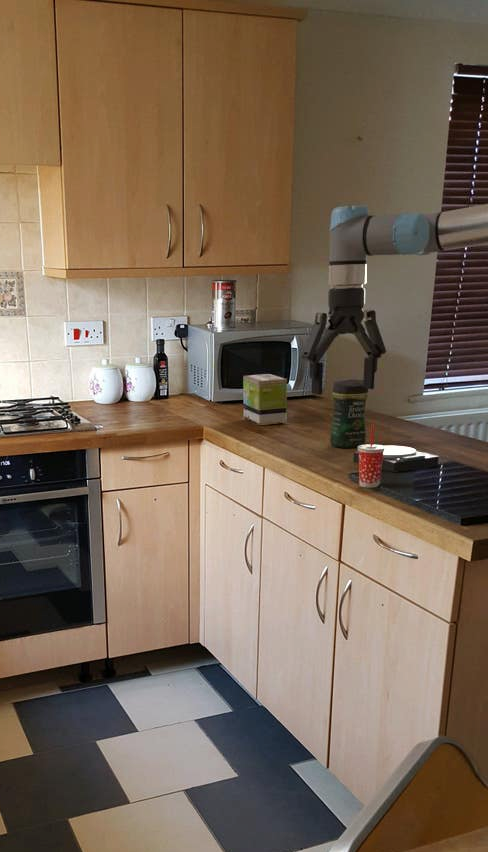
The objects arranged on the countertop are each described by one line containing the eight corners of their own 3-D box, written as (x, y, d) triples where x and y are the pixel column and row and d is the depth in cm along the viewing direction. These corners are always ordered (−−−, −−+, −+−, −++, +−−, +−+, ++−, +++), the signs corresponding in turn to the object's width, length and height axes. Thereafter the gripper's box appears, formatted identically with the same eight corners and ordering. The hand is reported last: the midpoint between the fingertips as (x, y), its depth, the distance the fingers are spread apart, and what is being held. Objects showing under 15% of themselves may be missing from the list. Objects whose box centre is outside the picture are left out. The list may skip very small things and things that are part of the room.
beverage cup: (362, 481, 206) (365, 421, 202) (387, 484, 203) (390, 423, 198) (351, 486, 202) (354, 425, 197) (376, 489, 198) (380, 427, 194)
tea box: (242, 419, 296) (242, 375, 291) (270, 417, 299) (270, 373, 294) (258, 426, 282) (258, 379, 278) (287, 424, 285) (288, 377, 280)
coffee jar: (339, 449, 243) (341, 381, 237) (326, 444, 250) (328, 378, 244) (370, 446, 245) (373, 379, 239) (356, 442, 252) (359, 376, 246)
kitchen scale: (438, 466, 219) (439, 453, 218) (393, 472, 214) (394, 459, 213) (395, 455, 233) (396, 443, 232) (353, 461, 227) (353, 449, 226)
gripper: (383, 285, 189) (378, 384, 196) (285, 289, 179) (284, 394, 186) (406, 285, 183) (400, 388, 190) (307, 289, 173) (304, 398, 180)
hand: (342, 391), depth 188 cm, fingers open, 13 cm apart
